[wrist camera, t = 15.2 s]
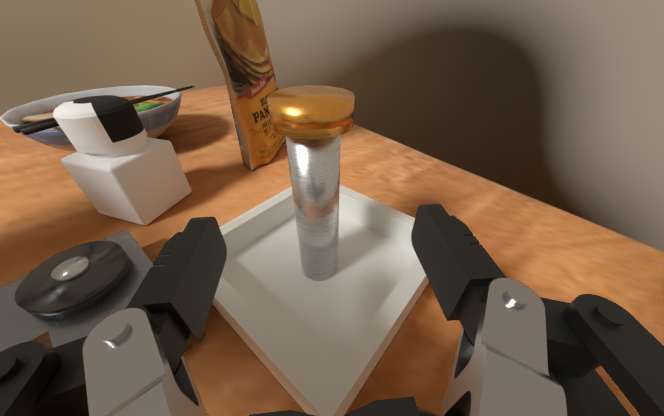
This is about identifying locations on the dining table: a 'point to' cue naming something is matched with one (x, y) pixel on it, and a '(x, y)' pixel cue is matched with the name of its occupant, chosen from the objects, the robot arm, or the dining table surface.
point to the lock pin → (314, 167)
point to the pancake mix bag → (244, 73)
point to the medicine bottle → (120, 159)
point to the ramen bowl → (149, 101)
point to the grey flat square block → (72, 292)
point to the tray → (319, 296)
